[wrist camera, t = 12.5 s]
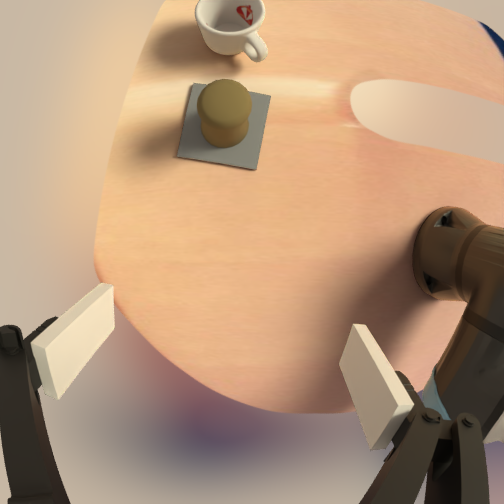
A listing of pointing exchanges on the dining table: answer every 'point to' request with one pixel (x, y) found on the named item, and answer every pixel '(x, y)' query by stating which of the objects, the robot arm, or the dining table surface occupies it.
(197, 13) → the cup
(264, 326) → the dining table surface
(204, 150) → the coaster
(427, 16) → the dining table surface
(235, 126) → the pepper mill
